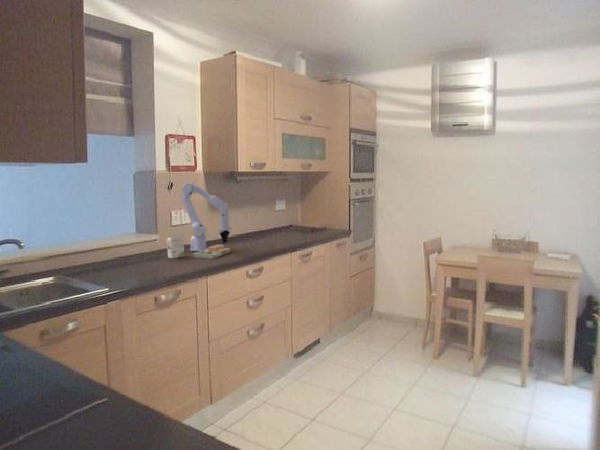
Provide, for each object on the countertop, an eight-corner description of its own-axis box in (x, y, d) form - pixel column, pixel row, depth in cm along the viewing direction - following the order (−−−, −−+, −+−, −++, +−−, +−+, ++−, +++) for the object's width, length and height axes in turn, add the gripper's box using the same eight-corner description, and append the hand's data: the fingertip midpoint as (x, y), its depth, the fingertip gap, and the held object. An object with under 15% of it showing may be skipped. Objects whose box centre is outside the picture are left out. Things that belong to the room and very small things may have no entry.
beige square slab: (202, 254, 273) (202, 250, 272) (212, 250, 284) (211, 247, 284) (220, 255, 269) (220, 251, 268) (230, 252, 280) (230, 248, 279)
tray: (192, 257, 264) (192, 253, 263) (201, 254, 273) (201, 250, 272) (213, 258, 259) (213, 255, 259) (221, 255, 268) (221, 252, 268)
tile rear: (213, 248, 277) (213, 245, 277) (217, 247, 282) (217, 244, 282) (220, 249, 276) (220, 246, 275) (224, 248, 280) (224, 244, 280)
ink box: (180, 255, 270) (179, 231, 268) (184, 256, 266) (183, 232, 264) (167, 257, 264) (166, 232, 262) (171, 258, 260) (170, 233, 258)
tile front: (208, 250, 272) (208, 247, 271) (212, 249, 276) (212, 246, 276) (215, 251, 270) (215, 247, 270) (219, 249, 275) (219, 246, 274)
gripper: (224, 223, 276) (224, 244, 278) (235, 220, 290) (235, 241, 291) (214, 222, 278) (215, 244, 280) (225, 220, 292) (226, 240, 294)
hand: (224, 242), depth 286 cm, fingers closed
